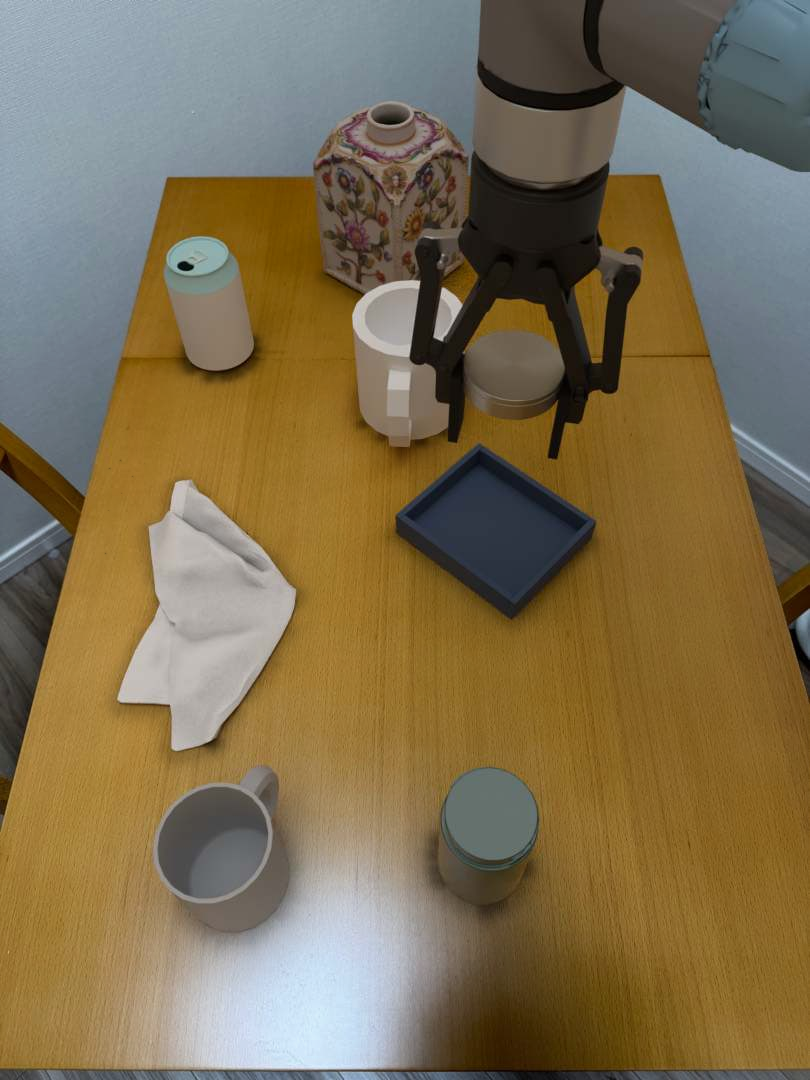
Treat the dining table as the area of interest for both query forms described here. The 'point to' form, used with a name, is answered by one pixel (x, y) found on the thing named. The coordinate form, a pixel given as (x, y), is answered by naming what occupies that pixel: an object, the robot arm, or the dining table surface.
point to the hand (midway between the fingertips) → (504, 437)
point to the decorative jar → (386, 192)
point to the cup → (225, 851)
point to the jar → (486, 834)
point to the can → (209, 303)
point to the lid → (512, 374)
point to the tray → (495, 529)
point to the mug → (398, 363)
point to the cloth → (205, 618)
